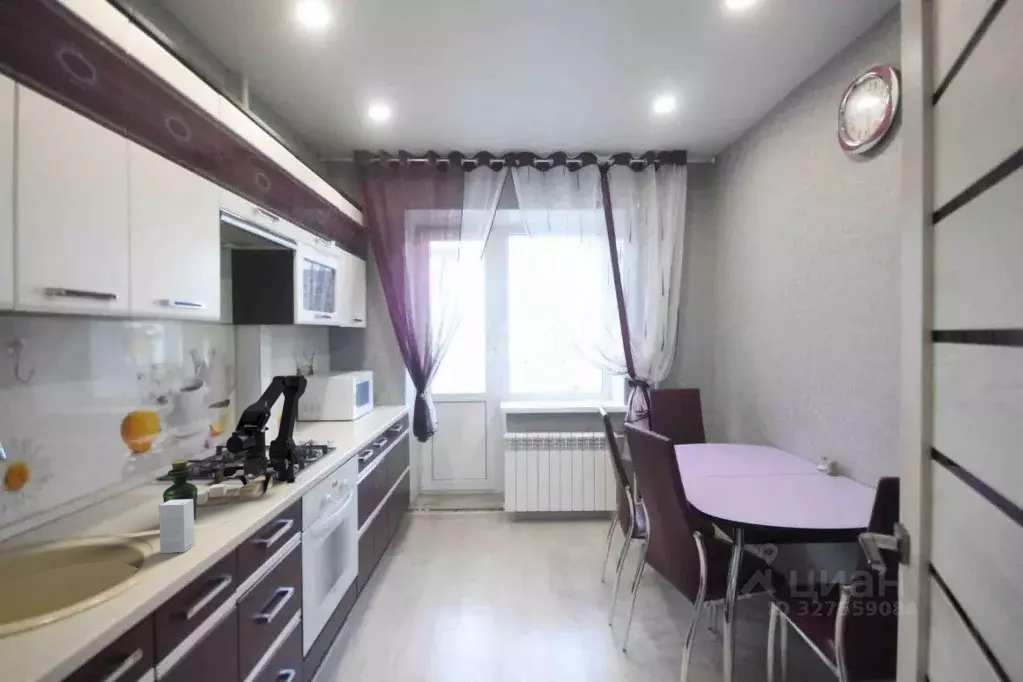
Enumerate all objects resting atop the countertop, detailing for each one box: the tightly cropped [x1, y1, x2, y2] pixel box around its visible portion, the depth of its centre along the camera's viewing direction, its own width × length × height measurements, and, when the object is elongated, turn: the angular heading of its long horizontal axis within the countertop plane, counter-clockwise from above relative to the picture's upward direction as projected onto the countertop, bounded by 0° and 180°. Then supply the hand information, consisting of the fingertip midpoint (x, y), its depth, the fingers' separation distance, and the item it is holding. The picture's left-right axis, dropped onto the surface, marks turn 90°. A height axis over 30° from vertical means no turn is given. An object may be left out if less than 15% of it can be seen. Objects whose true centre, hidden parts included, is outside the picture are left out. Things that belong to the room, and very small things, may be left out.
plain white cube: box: [208, 482, 228, 498], centre depth 155 cm, size 4×4×3 cm
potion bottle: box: [162, 459, 199, 521], centre depth 133 cm, size 8×8×18 cm
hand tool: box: [214, 469, 228, 485], centre depth 175 cm, size 19×4×5 cm, turn 13°
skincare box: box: [158, 499, 196, 554], centre depth 118 cm, size 6×4×12 cm
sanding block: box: [239, 474, 274, 502], centre depth 156 cm, size 14×4×5 cm, turn 3°
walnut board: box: [196, 488, 240, 509], centre depth 152 cm, size 16×14×1 cm
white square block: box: [197, 489, 209, 504], centre depth 148 cm, size 4×4×3 cm
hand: (257, 493), depth 156 cm, fingers closed on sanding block, 5 cm apart
